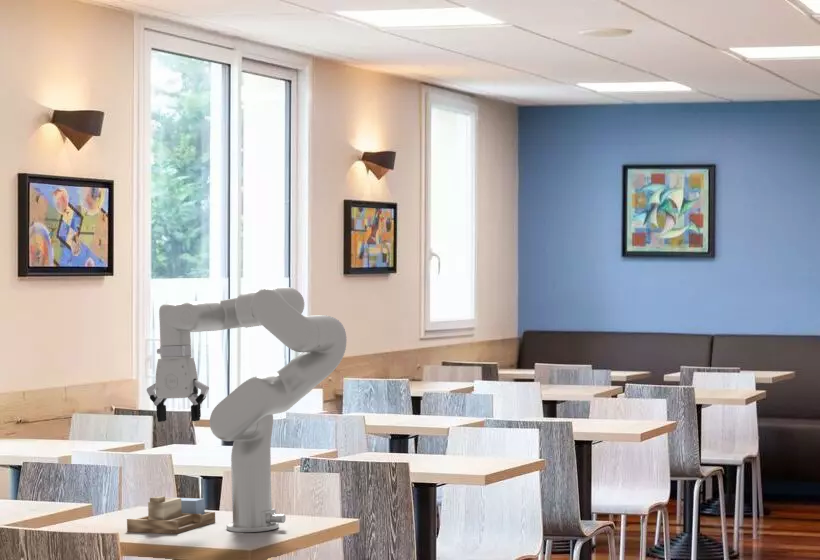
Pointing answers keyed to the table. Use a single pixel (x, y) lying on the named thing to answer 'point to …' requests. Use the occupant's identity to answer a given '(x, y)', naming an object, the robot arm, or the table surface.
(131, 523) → the tray
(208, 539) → the table surface
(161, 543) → the table surface
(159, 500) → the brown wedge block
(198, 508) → the bar
